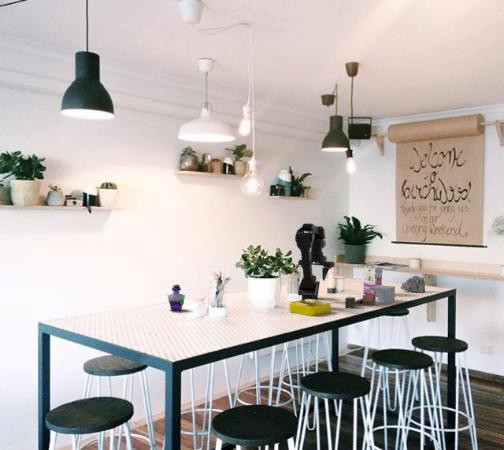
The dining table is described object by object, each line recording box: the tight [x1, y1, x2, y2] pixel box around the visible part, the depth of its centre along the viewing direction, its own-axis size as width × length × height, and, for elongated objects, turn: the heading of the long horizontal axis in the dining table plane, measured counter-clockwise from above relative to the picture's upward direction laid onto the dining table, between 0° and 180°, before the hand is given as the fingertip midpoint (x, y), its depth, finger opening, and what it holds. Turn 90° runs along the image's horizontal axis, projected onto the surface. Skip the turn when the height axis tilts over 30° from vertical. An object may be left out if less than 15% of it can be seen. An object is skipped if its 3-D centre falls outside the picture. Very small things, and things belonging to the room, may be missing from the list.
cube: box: [362, 294, 377, 307], centre depth 272 cm, size 5×5×5 cm
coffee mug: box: [314, 279, 321, 300], centre depth 288 cm, size 12×9×10 cm
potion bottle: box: [167, 284, 186, 312], centre depth 248 cm, size 9×9×12 cm
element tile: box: [288, 299, 331, 317], centre depth 248 cm, size 15×15×5 cm
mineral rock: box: [400, 275, 426, 294], centre depth 320 cm, size 13×11×10 cm
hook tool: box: [344, 296, 363, 310], centre depth 267 cm, size 21×6×5 cm, turn 147°
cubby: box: [369, 284, 396, 306], centre depth 280 cm, size 14×9×8 cm, turn 146°
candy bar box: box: [363, 265, 383, 297], centre depth 304 cm, size 11×5×16 cm, turn 25°
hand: (315, 279), depth 274 cm, fingers open, 9 cm apart
